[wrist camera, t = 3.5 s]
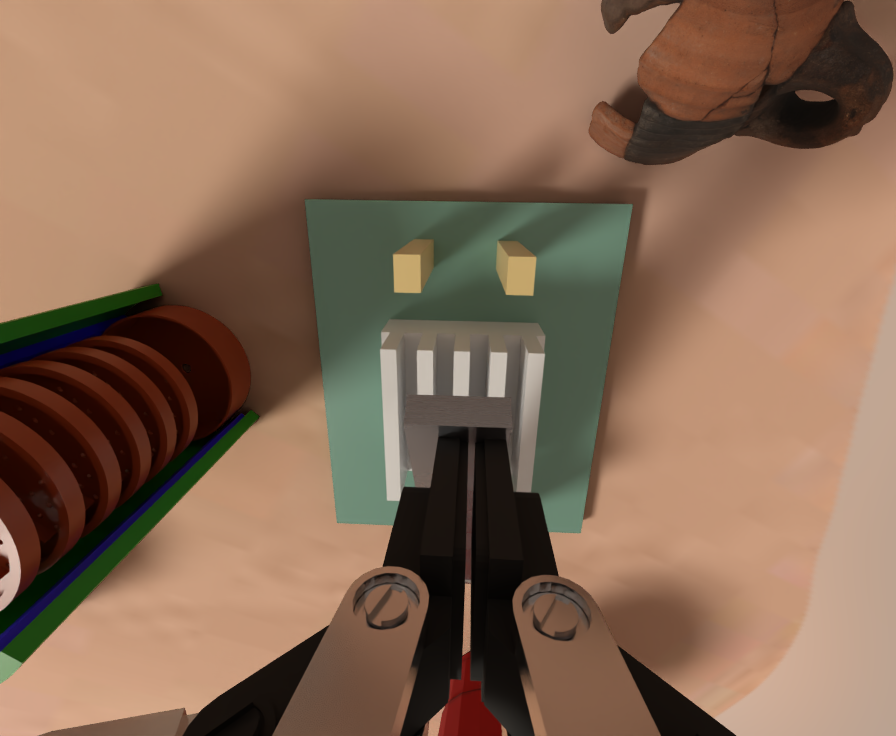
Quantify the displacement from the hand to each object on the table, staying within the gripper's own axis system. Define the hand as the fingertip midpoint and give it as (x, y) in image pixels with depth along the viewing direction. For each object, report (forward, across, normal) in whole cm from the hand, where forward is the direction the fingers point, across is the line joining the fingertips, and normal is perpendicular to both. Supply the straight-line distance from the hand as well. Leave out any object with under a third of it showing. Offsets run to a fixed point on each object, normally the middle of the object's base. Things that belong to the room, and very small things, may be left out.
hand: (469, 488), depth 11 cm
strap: (+5, 0, +4) cm, 6 cm away
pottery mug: (+15, -9, -13) cm, 22 cm away
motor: (+15, +18, +3) cm, 23 cm away
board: (+15, 0, +3) cm, 15 cm away
